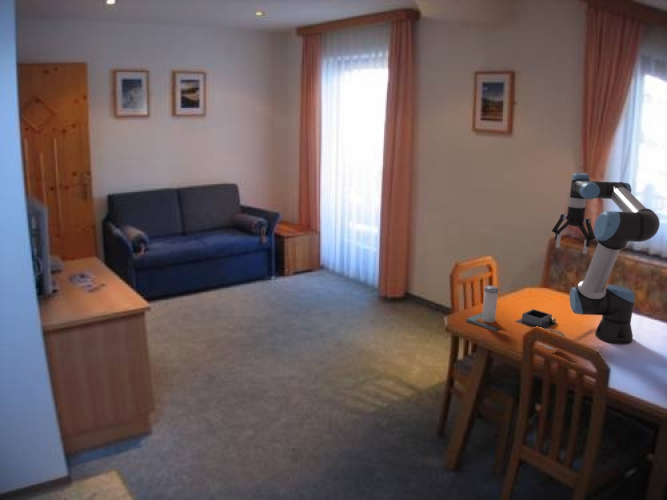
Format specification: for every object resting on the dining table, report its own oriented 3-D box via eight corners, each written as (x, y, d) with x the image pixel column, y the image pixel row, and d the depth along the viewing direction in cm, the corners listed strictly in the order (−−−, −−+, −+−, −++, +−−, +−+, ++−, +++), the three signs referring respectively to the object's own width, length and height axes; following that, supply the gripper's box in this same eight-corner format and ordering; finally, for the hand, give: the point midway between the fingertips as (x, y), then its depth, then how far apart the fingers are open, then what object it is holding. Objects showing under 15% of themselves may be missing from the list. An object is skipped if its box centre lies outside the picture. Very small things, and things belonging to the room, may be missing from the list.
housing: (557, 326, 294) (558, 315, 292) (542, 333, 284) (543, 322, 283) (529, 317, 303) (531, 306, 302) (514, 324, 294) (515, 313, 293)
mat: (510, 325, 293) (510, 322, 293) (496, 331, 285) (496, 328, 285) (480, 315, 304) (480, 313, 304) (466, 321, 296) (466, 318, 296)
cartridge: (497, 320, 295) (501, 288, 290) (490, 324, 290) (493, 290, 286) (486, 317, 299) (489, 284, 295) (478, 320, 295) (482, 287, 290)
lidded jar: (557, 358, 259) (560, 336, 257) (531, 351, 266) (534, 330, 263) (565, 350, 268) (568, 329, 265) (540, 343, 274) (543, 322, 271)
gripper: (606, 209, 292) (600, 254, 297) (555, 201, 309) (550, 243, 314) (599, 211, 287) (593, 257, 292) (548, 203, 304) (543, 246, 309)
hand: (571, 250), depth 303 cm, fingers open, 13 cm apart
